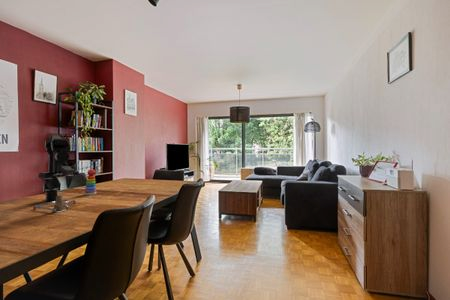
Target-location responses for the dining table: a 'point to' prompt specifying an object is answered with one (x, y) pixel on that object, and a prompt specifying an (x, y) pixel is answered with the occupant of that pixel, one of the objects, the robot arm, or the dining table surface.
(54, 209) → the rails leg
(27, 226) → the dining table surface
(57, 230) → the dining table surface
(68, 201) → the rail leg
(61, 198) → the walnut peg
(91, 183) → the stacking toy
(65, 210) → the sage coaster
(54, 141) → the robot arm
